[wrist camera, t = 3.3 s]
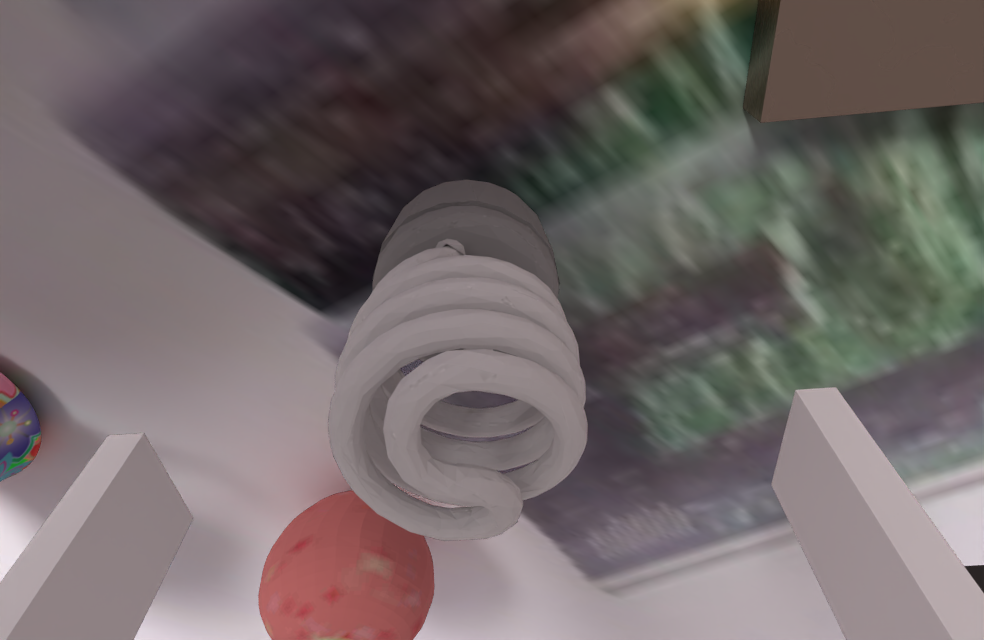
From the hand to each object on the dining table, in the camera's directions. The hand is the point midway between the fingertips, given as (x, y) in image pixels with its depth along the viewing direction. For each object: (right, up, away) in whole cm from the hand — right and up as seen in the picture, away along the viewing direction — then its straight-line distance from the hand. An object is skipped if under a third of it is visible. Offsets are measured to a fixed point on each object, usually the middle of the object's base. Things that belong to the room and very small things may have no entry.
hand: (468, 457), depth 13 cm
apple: (-6, -6, +18) cm, 20 cm away
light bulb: (0, +7, +9) cm, 11 cm away
